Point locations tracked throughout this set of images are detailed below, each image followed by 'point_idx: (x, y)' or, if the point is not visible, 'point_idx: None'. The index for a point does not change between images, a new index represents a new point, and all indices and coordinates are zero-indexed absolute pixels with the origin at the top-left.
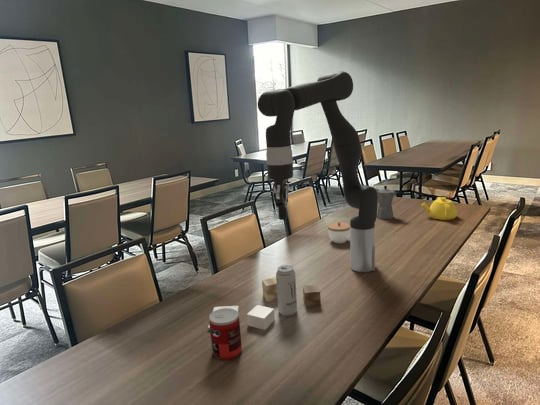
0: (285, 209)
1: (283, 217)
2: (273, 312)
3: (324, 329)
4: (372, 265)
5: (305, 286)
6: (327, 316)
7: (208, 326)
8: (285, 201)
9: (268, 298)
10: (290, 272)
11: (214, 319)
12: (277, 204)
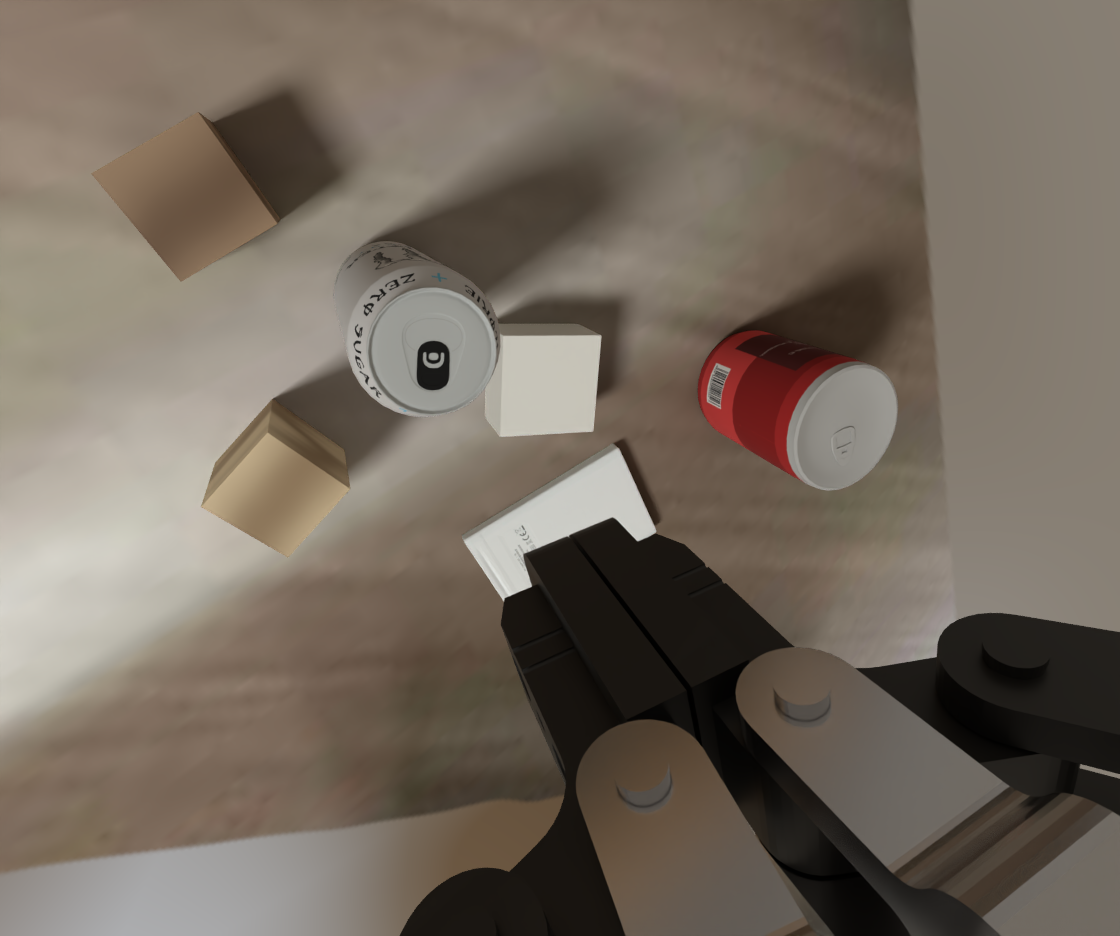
0: (721, 636)
1: (675, 557)
2: (507, 332)
3: (467, 11)
4: None
5: (179, 258)
6: (325, 30)
7: (646, 537)
8: (919, 806)
9: (338, 452)
10: (456, 290)
11: (867, 448)
12: (1090, 791)
